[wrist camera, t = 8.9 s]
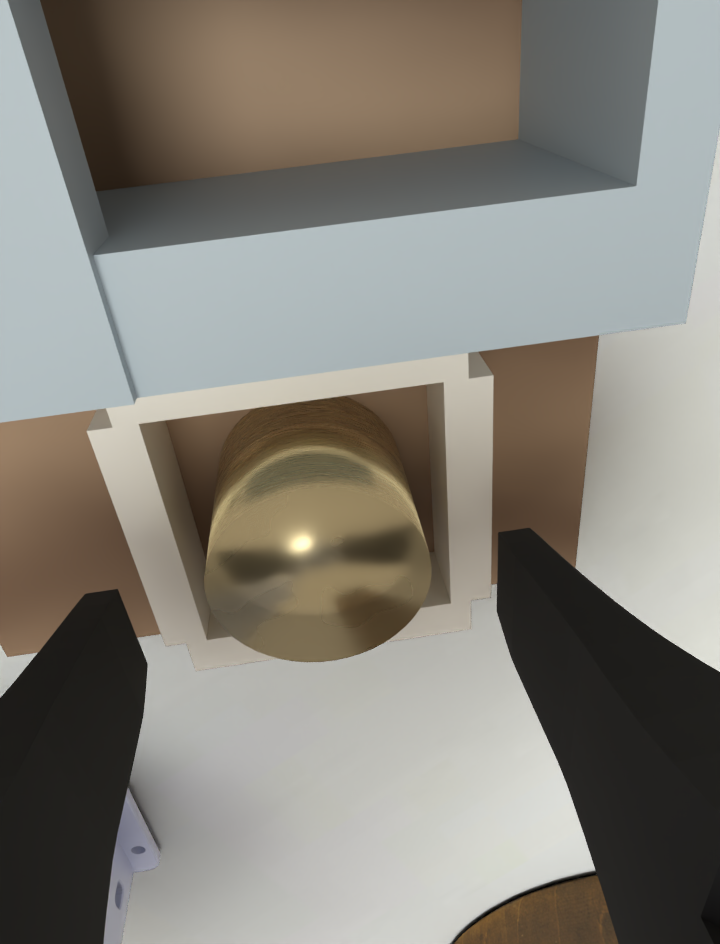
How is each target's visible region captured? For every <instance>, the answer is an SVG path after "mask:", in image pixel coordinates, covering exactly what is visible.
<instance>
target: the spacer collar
mask: <svg viewBox="0 0 720 944" xmlns="http://www.w3.org/2000/svg"><path fill="white" fill-rule="evenodd" d="M493 379H494V375H493V374H492V372H491V371H490V369H489V368H488V366H487V365H486V363H485V362H484V360H483V359H482V357H481V356H480V354H479V353H478V352H472V353H464V354H457V355H450V356H442V357H435V358H428V359H420V360H413V361H406V362H398V363H391V364H384V365H376V366H369V367H361V368H354V369H347V370H339V371H332V372H325V373H317V374H310V375H303V376H295V377H288V378H281V379H273V380H266V381H258V382H251V383H244V384H236V385H229V386H222V387H214V388H207V389H200V390H192V391H185V392H178V393H170V394H163V395H155V396H148V397H141V398H137V399H136V402H135V404H134V405H126V406H119V407H112V408H104V409H97V410H96V412H95V415H94V417H93V419H92V421H91V423H90V425H89V427H88V429H87V434H88V437H89V439H90V442H91V445H92V447H93V450H94V453H95V456H96V458H97V461H98V464H99V467H100V469H101V472H102V475H103V477H104V480H105V483H106V486H107V488H108V491H109V494H110V497H111V499H112V502H113V505H114V507H115V510H116V513H117V516H118V518H119V521H120V524H121V526H122V529H123V532H124V535H125V537H126V540H127V543H128V546H129V548H130V551H131V554H132V556H133V559H134V562H135V565H136V567H137V570H138V573H139V576H140V578H141V581H142V584H143V586H144V589H145V592H146V595H147V597H148V600H149V603H150V606H151V608H152V611H153V614H154V616H155V619H156V622H157V625H158V627H159V630H160V633H161V636H162V638H163V641H164V644H165V646H172V645H179V644H185V643H186V644H187V647H188V650H189V653H190V656H191V659H192V662H193V665H194V668H195V671H200V670H207V669H213V668H220V667H227V666H233V665H240V664H246V663H253V662H259V661H266V660H273V659H279V658H275V657H271V656H268V655H265V654H263V653H260V652H257V651H255V650H253V649H251V648H249V647H247V646H245V645H244V644H242V643H241V642H239V641H238V640H236V639H235V638H234V637H232V636H231V635H230V634H229V633H228V632H227V631H226V630H225V629H224V628H223V627H222V626H221V625H220V623H219V622H218V621H217V619H216V618H215V616H214V615H213V613H212V611H211V609H210V606H209V604H208V602H207V598H206V593H205V586H204V575H205V567H206V559H205V555H204V552H203V548H202V545H201V542H200V538H199V535H198V531H197V528H196V524H195V521H194V517H193V514H192V511H191V507H190V504H189V500H188V497H187V493H186V490H185V486H184V483H183V480H182V476H181V473H180V469H179V466H178V462H177V459H176V455H175V452H174V449H173V445H172V442H171V438H170V435H169V431H168V428H167V425H166V421H165V420H172V419H179V418H186V417H193V416H201V415H208V414H215V413H223V412H230V411H237V410H244V409H252V408H259V407H266V406H274V405H281V404H288V403H295V402H303V401H310V400H317V399H324V398H332V397H339V396H346V395H354V394H361V393H368V392H375V391H383V390H390V389H397V388H404V387H412V386H419V385H427V406H428V427H429V448H430V469H431V489H432V510H433V531H434V552H430V559H431V565H432V569H431V582H430V587H429V590H428V593H427V596H426V599H425V600H424V602H423V604H422V606H421V608H420V610H419V611H418V612H417V614H416V615H415V616H414V618H413V619H412V620H411V621H410V622H409V623H408V624H407V625H406V626H405V627H404V628H403V629H402V630H401V631H400V632H399V633H397V634H396V635H395V636H393V637H392V638H390V639H389V640H387V641H386V642H391V641H397V640H404V639H411V638H417V637H424V636H430V635H437V634H443V633H450V632H457V631H463V630H470V629H471V600H478V599H484V598H491V547H492V463H493Z"/></svg>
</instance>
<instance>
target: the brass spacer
mask: <svg viewBox="0 0 720 944" xmlns="http://www.w3.org/2000/svg"><path fill="white" fill-rule="evenodd" d="M431 569H432V565H431V559H430V553H429V550H428V547H427V544H426V540H425V537H424V534H423V530H422V527H421V524H420V521H419V517H418V514H417V511H416V507H415V504H414V501H413V498H412V494H411V491H410V488H409V485H408V481H407V478H406V475H405V471H404V468H403V465H402V462H401V458H400V455H399V452H398V449H397V446H396V443H395V440H394V438H393V436H392V434H391V432H390V430H389V429H388V427H387V426H386V425H385V423H384V422H383V421H382V420H381V419H380V418H379V417H378V416H377V415H376V414H375V413H374V412H373V411H371V410H370V409H369V408H367V407H366V406H364V405H362V404H361V403H359V402H357V401H355V400H353V399H350V398H348V397H345V396H339V397H332V398H324V399H317V400H310V401H303V402H295V403H288V404H281V405H274V406H266V407H259V408H254V409H252V410H251V411H249V412H248V413H247V414H246V415H245V416H244V417H242V418H241V419H240V420H239V422H238V423H237V424H236V425H235V426H234V427H233V429H232V430H231V432H230V433H229V435H228V436H227V438H226V441H225V443H224V445H223V448H222V451H221V454H220V460H219V467H218V475H217V483H216V490H215V498H214V506H213V513H212V521H211V529H210V537H209V544H208V552H207V560H206V567H205V575H204V586H205V593H206V598H207V602H208V604H209V606H210V609H211V611H212V613H213V615H214V616H215V618H216V619H217V621H218V622H219V623H220V625H221V626H222V627H223V628H224V629H225V630H226V631H227V632H228V633H229V634H230V635H231V636H232V637H234V638H235V639H236V640H238V641H239V642H241V643H242V644H244V645H245V646H247V647H249V648H251V649H253V650H255V651H257V652H260V653H263V654H265V655H268V656H271V657H275V658H279V659H284V660H290V661H299V662H324V661H332V660H338V659H343V658H348V657H351V656H354V655H358V654H361V653H363V652H366V651H368V650H371V649H373V648H375V647H377V646H379V645H381V644H383V643H384V642H386V641H387V640H389V639H390V638H392V637H393V636H395V635H396V634H397V633H399V632H400V631H401V630H402V629H403V628H404V627H405V626H406V625H407V624H408V623H409V622H410V621H411V620H412V619H413V618H414V616H415V615H416V614H417V612H418V611H419V610H420V608H421V606H422V604H423V602H424V600H425V599H426V596H427V593H428V590H429V587H430V582H431Z"/></svg>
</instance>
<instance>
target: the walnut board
mask: <svg viewBox="0 0 720 944" xmlns="http://www.w3.org/2000/svg"><path fill="white" fill-rule="evenodd" d="M40 2H41V6H42V9H43V13H44V16H45V20H46V23H47V26H48V30H49V33H50V37H51V40H52V43H53V47H54V50H55V54H56V57H57V61H58V64H59V67H60V71H61V74H62V78H63V81H64V84H65V88H66V91H67V95H68V98H69V102H70V105H71V108H72V112H73V115H74V119H75V122H76V125H77V129H78V132H79V136H80V139H81V142H82V146H83V149H84V153H85V156H86V160H87V163H88V166H89V170H90V173H91V177H92V180H93V183H94V187H95V190H96V192H97V191H105V190H113V189H121V188H129V187H137V186H145V185H153V184H161V183H169V182H178V181H186V180H194V179H202V178H210V177H218V176H226V175H234V174H242V173H250V172H258V171H266V170H274V169H283V168H291V167H299V166H307V165H315V164H323V163H331V162H339V161H347V160H355V159H363V158H371V157H379V156H388V155H396V154H404V153H412V152H420V151H428V150H436V149H444V148H452V147H460V146H468V145H476V144H484V143H493V142H501V141H509V140H517V139H518V133H519V97H520V61H521V25H522V0H40ZM598 339H599V335H597V336H589V337H582V338H575V339H567V340H560V341H553V342H545V343H538V344H531V345H523V346H516V347H509V348H501V349H494V350H486V351H479V352H478V353H479V354H480V356H481V357H482V359H483V360H484V362H485V363H486V365H487V366H488V368H489V369H490V371H491V372H492V374H493V375H494V379H493V463H492V547H491V584H497V570H498V532H503V531H510V530H517V529H524V528H531V529H532V530H533V531H535V532H536V533H537V534H538V535H539V536H540V537H541V538H542V539H543V540H544V541H546V542H547V543H548V544H549V545H550V546H551V547H552V548H553V549H554V550H555V551H557V552H558V553H559V554H560V555H561V556H562V557H563V558H564V559H565V560H567V561H568V562H569V563H570V564H571V565H572V566H573V567H574V568H575V566H576V556H577V546H578V536H579V526H580V516H581V506H582V497H583V487H584V477H585V467H586V457H587V447H588V438H589V428H590V418H591V408H592V398H593V388H594V379H595V369H596V359H597V349H598ZM345 397H348V398H350V399H353V400H355V401H357V402H359V403H361V404H362V405H364V406H366V407H367V408H369V409H370V410H371V411H373V412H374V413H375V414H376V415H377V416H378V417H379V418H380V419H381V420H382V421H383V422H384V423H385V425H386V426H387V427H388V429H389V430H390V432H391V434H392V436H393V438H394V440H395V443H396V446H397V449H398V452H399V455H400V458H401V462H402V465H403V468H404V471H405V475H406V478H407V481H408V485H409V488H410V491H411V494H412V498H413V501H414V504H415V507H416V511H417V514H418V517H419V521H420V524H421V527H422V530H423V534H424V537H425V540H426V544H427V547H428V550H429V553H430V552H434V531H433V510H432V489H431V469H430V448H429V427H428V406H427V385H419V386H412V387H404V388H397V389H390V390H383V391H375V392H368V393H361V394H354V395H346V396H345ZM252 409H254V408H252ZM252 409H244V410H237V411H230V412H223V413H215V414H208V415H201V416H193V417H186V418H179V419H172V420H165V421H166V425H167V428H168V431H169V435H170V438H171V442H172V445H173V449H174V452H175V455H176V459H177V462H178V466H179V469H180V473H181V476H182V480H183V483H184V486H185V490H186V493H187V497H188V500H189V504H190V507H191V511H192V514H193V517H194V521H195V524H196V528H197V531H198V535H199V538H200V542H201V545H202V548H203V552H204V555H205V559H206V560H207V552H208V544H209V537H210V529H211V521H212V513H213V506H214V498H215V490H216V483H217V475H218V467H219V460H220V454H221V451H222V448H223V445H224V443H225V441H226V438H227V436H228V435H229V433H230V432H231V430H232V429H233V427H234V426H235V425H236V424H237V423H238V422H239V420H240V419H241V418H242V417H244V416H245V415H246V414H247V413H248V412H249V411H251V410H252ZM95 412H96V410H90V411H82V412H75V413H68V414H60V415H53V416H46V417H38V418H31V419H24V420H16V421H9V422H2V423H0V645H1V646H2V648H3V650H4V652H5V654H6V655H7V657H10V656H17V655H24V654H30V653H37V652H39V651H40V650H41V648H42V647H43V646H44V645H45V643H46V642H47V641H48V640H49V638H50V637H51V636H52V635H53V633H54V632H55V631H56V629H57V628H58V627H59V626H60V624H61V623H62V622H63V620H64V619H65V618H66V617H67V615H68V614H69V613H70V612H71V610H72V609H73V608H74V607H75V605H76V604H77V603H78V602H79V600H80V599H81V598H82V597H83V596H84V594H86V593H93V592H100V591H107V590H113V589H118V591H119V593H120V596H121V598H122V601H123V603H124V606H125V608H126V611H127V613H128V616H129V619H130V621H131V624H132V626H133V629H134V631H135V634H136V636H137V637H144V636H151V635H157V634H161V633H160V630H159V627H158V625H157V622H156V619H155V616H154V614H153V611H152V608H151V606H150V603H149V600H148V597H147V595H146V592H145V589H144V586H143V584H142V581H141V578H140V576H139V573H138V570H137V567H136V565H135V562H134V559H133V556H132V554H131V551H130V548H129V546H128V543H127V540H126V537H125V535H124V532H123V529H122V526H121V524H120V521H119V518H118V516H117V513H116V510H115V507H114V505H113V502H112V499H111V497H110V494H109V491H108V488H107V486H106V483H105V480H104V477H103V475H102V472H101V469H100V467H99V464H98V461H97V458H96V456H95V453H94V450H93V447H92V445H91V442H90V439H89V437H88V434H87V429H88V427H89V425H90V423H91V421H92V419H93V417H94V415H95Z"/></svg>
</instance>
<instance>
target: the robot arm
mask: <svg viewBox="0 0 720 944" xmlns="http://www.w3.org/2000/svg"><path fill="white" fill-rule="evenodd" d="M497 613H498V616H499V620H500V623H501V626H502V630H503V633H504V636H505V639H506V643H507V646H508V649H509V652H510V655H511V658H512V660H513V663H514V665H515V667H516V670H517V672H518V674H519V676H520V679H521V681H522V683H523V685H524V688H525V690H526V692H527V694H528V697H529V699H530V701H531V703H532V705H533V708H534V710H535V712H536V714H537V716H538V719H539V721H540V723H541V725H542V728H543V730H544V732H545V734H546V736H547V739H548V741H549V743H550V745H551V747H552V750H553V752H554V754H555V756H556V759H557V761H558V763H559V766H560V768H561V771H562V773H563V776H564V778H565V781H566V783H567V786H568V788H569V791H570V794H571V797H572V800H573V803H574V806H575V809H576V812H577V815H578V818H579V821H580V824H581V827H582V830H583V833H584V836H585V839H586V842H587V845H588V848H589V851H590V854H591V857H592V860H593V863H594V866H595V870H596V873H597V876H598V879H599V882H600V885H601V888H602V891H603V894H604V898H605V901H606V904H607V908H608V911H609V914H610V917H611V921H612V924H613V927H614V931H615V934H616V937H617V940H618V944H720V672H719V671H717V670H715V669H714V668H712V667H710V666H709V665H707V664H705V663H703V662H702V661H700V660H699V659H697V658H695V657H694V656H692V655H691V654H689V653H687V652H686V651H684V650H683V649H681V648H679V647H678V646H676V645H675V644H673V643H672V642H670V641H668V640H667V639H665V638H664V637H663V636H661V635H660V634H658V633H657V632H655V631H654V630H652V629H651V628H650V627H648V626H647V625H646V624H644V623H643V622H641V621H640V620H639V619H637V618H636V617H635V616H633V615H632V614H631V613H629V612H628V611H627V610H625V609H624V608H623V607H622V606H620V605H619V604H618V603H616V602H615V601H614V600H613V599H611V598H610V597H609V596H608V595H607V594H605V593H604V592H603V591H602V590H600V589H599V588H598V587H597V586H596V585H594V584H593V583H592V582H591V581H589V580H588V579H587V578H586V577H585V576H584V575H582V574H581V573H580V572H579V571H578V570H577V569H576V568H574V567H573V566H572V565H571V564H570V563H569V562H568V561H567V560H565V559H564V558H563V557H562V556H561V555H560V554H559V553H558V552H557V551H555V550H554V549H553V548H552V547H551V546H550V545H549V544H548V543H547V542H546V541H544V540H543V539H542V538H541V537H540V536H539V535H538V534H537V533H536V532H535V531H533V530H532V529H531V528H524V529H517V530H510V531H503V532H498V570H497ZM146 678H147V662H146V659H145V657H144V654H143V652H142V649H141V646H140V644H139V641H138V639H137V636H136V634H135V631H134V629H133V626H132V624H131V621H130V619H129V616H128V613H127V611H126V608H125V606H124V603H123V601H122V598H121V596H120V593H119V591H118V589H113V590H107V591H100V592H93V593H86V594H84V596H83V597H82V598H81V599H80V600H79V602H78V603H77V604H76V605H75V607H74V608H73V609H72V610H71V612H70V613H69V614H68V615H67V617H66V618H65V619H64V620H63V622H62V623H61V624H60V626H59V627H58V628H57V629H56V631H55V632H54V633H53V635H52V636H51V637H50V638H49V640H48V641H47V642H46V643H45V645H44V646H43V647H42V648H41V650H40V651H39V652H38V654H37V655H36V656H35V657H34V658H33V660H32V661H31V662H30V663H29V665H28V666H27V667H26V668H25V669H24V671H23V672H22V673H21V674H20V676H19V677H18V678H17V679H16V681H15V682H14V683H13V684H12V685H11V687H10V688H9V689H8V690H7V691H6V692H5V693H4V694H3V696H2V697H1V698H0V944H122V938H123V932H124V926H125V920H126V914H127V908H128V902H129V896H130V890H131V884H132V878H133V873H135V872H141V871H147V870H151V869H154V868H156V867H157V866H158V865H159V862H160V851H159V849H158V847H157V845H156V843H155V841H154V839H153V837H152V835H151V833H150V831H149V829H148V827H147V825H146V823H145V821H144V819H143V817H142V815H141V813H140V811H139V809H138V807H137V805H136V803H135V801H134V799H133V797H132V794H131V792H130V790H129V788H128V784H129V780H130V775H131V771H132V766H133V761H134V757H135V752H136V748H137V743H138V738H139V734H140V729H141V724H142V719H143V712H144V702H145V692H146Z"/></svg>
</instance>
